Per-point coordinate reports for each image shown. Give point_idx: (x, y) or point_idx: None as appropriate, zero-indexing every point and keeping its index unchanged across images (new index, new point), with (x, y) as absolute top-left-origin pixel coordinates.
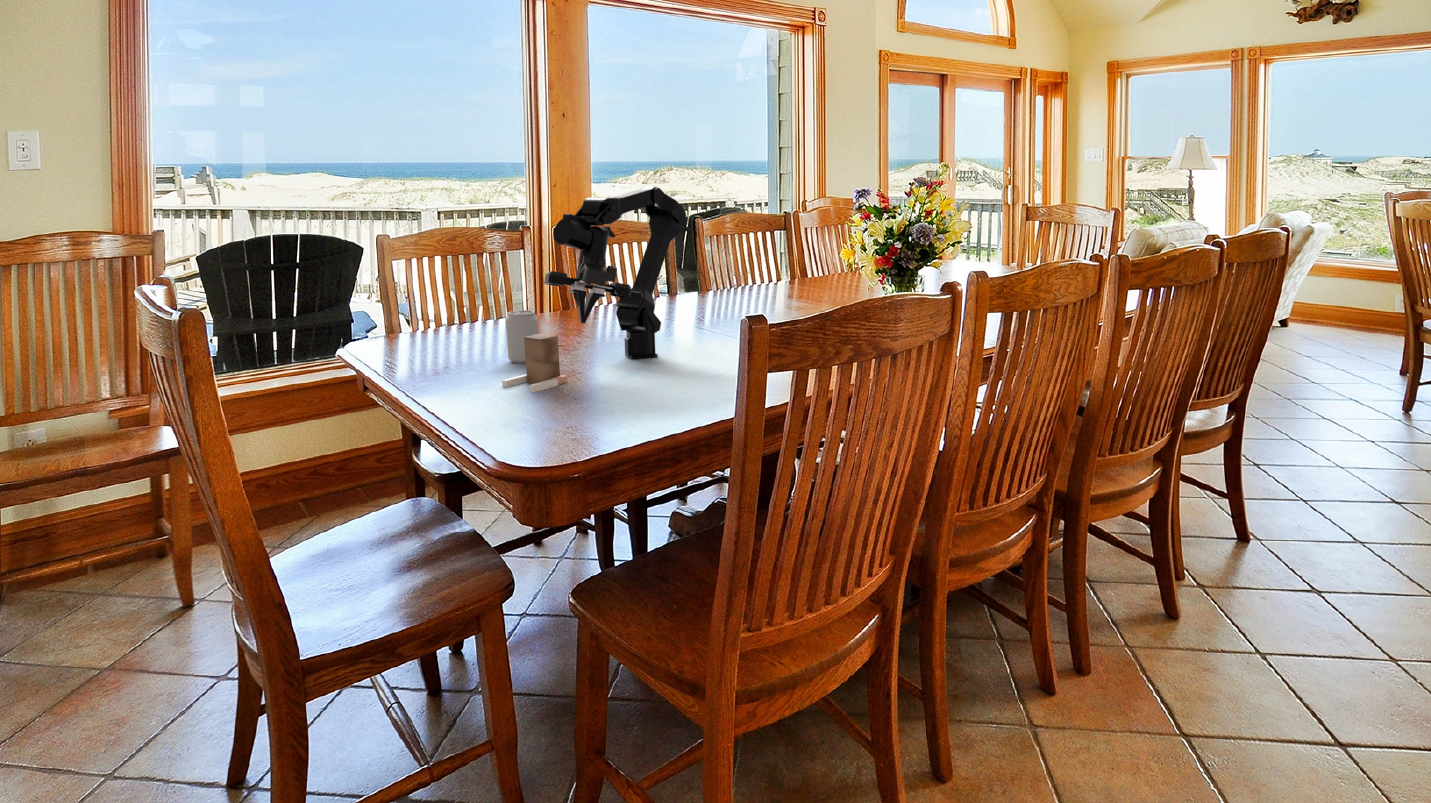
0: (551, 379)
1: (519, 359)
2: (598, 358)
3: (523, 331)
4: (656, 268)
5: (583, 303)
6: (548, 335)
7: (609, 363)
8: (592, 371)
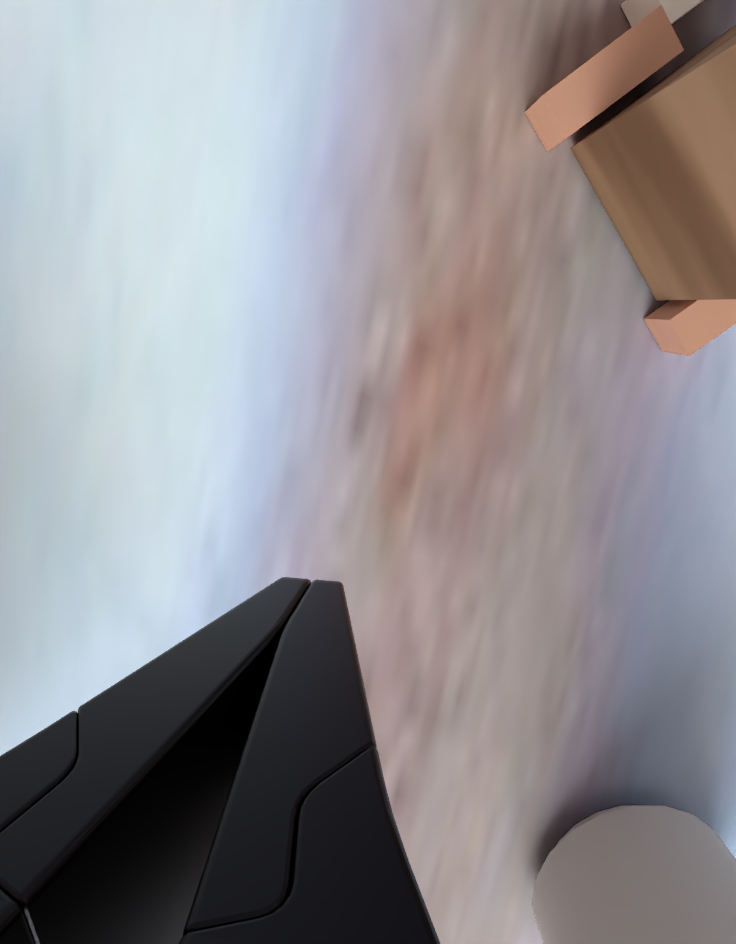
0: None
1: (689, 819)
2: None
3: None
4: None
5: (262, 833)
6: None
7: (101, 641)
8: (265, 429)
